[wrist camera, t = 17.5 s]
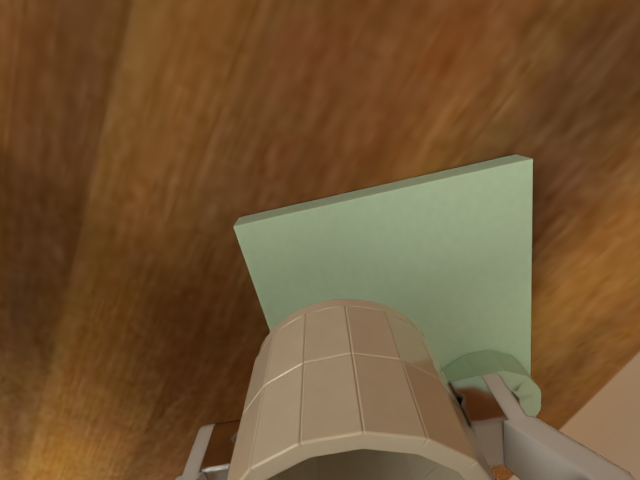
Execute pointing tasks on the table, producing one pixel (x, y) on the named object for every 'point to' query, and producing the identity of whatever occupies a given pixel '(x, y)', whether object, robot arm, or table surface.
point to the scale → (416, 262)
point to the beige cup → (352, 402)
